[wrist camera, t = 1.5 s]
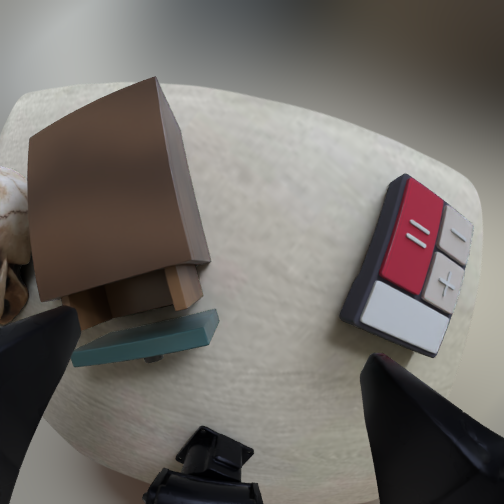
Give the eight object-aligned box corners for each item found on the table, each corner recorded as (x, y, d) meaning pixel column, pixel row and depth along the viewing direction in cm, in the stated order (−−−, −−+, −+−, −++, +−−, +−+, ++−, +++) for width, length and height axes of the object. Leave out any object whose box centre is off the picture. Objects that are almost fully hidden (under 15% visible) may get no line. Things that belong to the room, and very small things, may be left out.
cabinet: (211, 261, 24) (192, 259, 15) (98, 292, 24) (40, 302, 15) (180, 129, 25) (155, 75, 16) (79, 168, 24) (29, 138, 15)
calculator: (478, 223, 21) (439, 361, 20) (455, 229, 26) (416, 352, 24) (408, 168, 21) (355, 325, 20) (387, 182, 26) (336, 318, 24)
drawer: (223, 334, 23) (215, 362, 16) (117, 355, 23) (79, 382, 15) (184, 184, 24) (161, 153, 16) (84, 219, 23) (39, 205, 16)
